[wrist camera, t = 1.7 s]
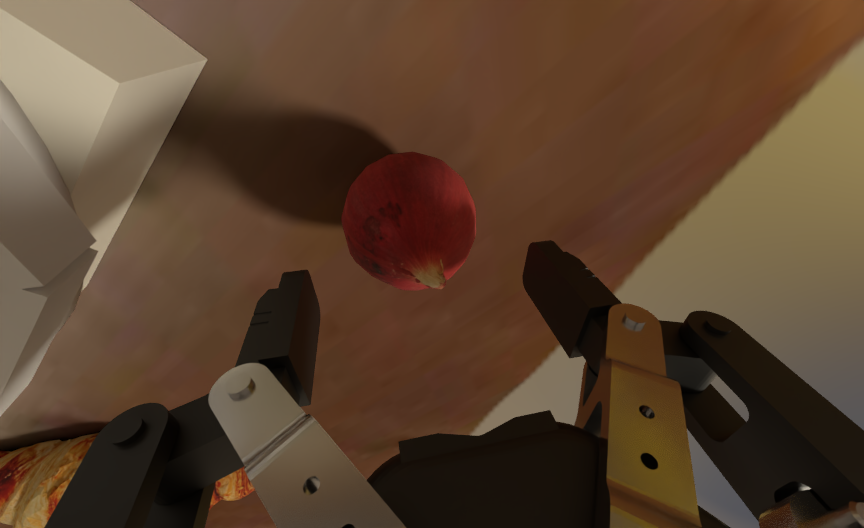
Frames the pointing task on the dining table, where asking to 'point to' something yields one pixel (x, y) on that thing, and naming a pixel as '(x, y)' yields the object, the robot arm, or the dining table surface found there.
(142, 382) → the dining table surface
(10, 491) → the croissant
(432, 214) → the onion
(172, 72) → the scale
